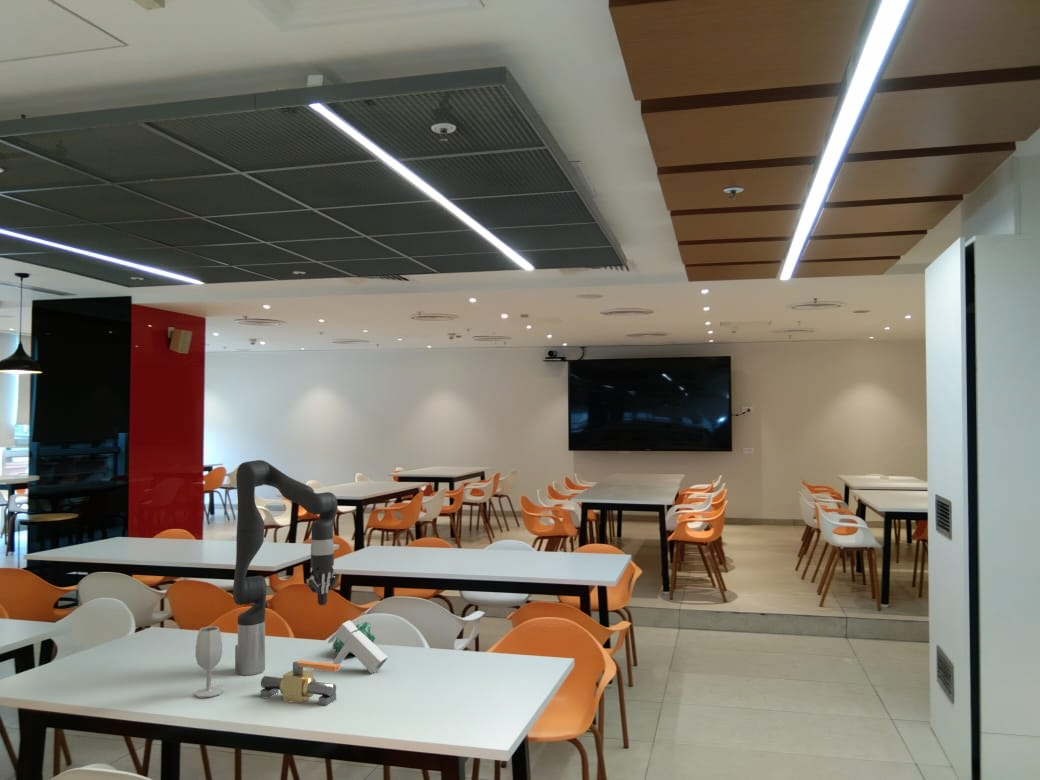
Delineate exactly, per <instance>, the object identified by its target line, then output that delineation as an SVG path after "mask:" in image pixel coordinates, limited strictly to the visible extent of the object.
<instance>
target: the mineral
mask: <svg viewBox="0 0 1040 780" xmlns="http://www.w3.org/2000/svg"><path fill="white" fill-rule="evenodd" d="M371 625H372V624H371V622H368V621H364V622H361V623H359V624H357V625H355V626H356V627H357V628H358V630H357V631H361V632H362V633H363V634H364V635H365V636H366V637H367V638H368V639H369V640H370V641H371V642H373V643H375V642H374V641H375V640H376V637H375V635H374V634H372V633H371V629H372V626H371ZM344 645H345V644H344V643H343V642H342V641H341V640H340V639H339V638H338V637H337V636H336V638H335V639H334V641H333V642H332V649H333V650H335V653H336V654H338V653H339V652H340V650H341V649H342V647H343V646H344ZM350 654H351V655H354V654H353V653H352V652H349V653H348V655H350Z"/></svg>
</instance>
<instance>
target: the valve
mask: <svg viewBox="0 0 1040 780" xmlns="http://www.w3.org/2000/svg"><path fill="white" fill-rule="evenodd" d="M260 687H261V690H260V698H262V697H270V696H272V695H274V694H275V695H277V694H279V691H280V693H281V695H282V701H283V700H286V701H285V702H288V701H292V702H291V703H296V702H299V703H298V704H303V703H305V702H306V701H308V700H310V699H311V698H310V697H312V696H313V697H314V695H318V696H319V695H320V696H319V697H318V705H319V704H321V705H320V706H325V705H327V706H329V705H331V704H332V703H334V702H335V701H334V700H336V701H337V693H336V692H337V685H336V684H335V683H330V682H329V683H328V682H318V681H316V678H315V677H314V671H313V670H305V669H303V673H300V674H294V673H293V669H292V670H290V671H288V672H286V673H284V674H283V675H282V677H276V676H268V675H264V676H263V677H262V678H261V681H260ZM276 693H277V694H276ZM275 695H274V696H275ZM272 697H273V696H272ZM313 697H312V698H313ZM270 698H271V697H270ZM309 698H310V699H309ZM307 699H308V700H307ZM305 700H306V701H305ZM304 701H305V702H304ZM333 701H334V702H333ZM302 702H303V703H302ZM331 702H332V703H331ZM330 703H331V704H330ZM328 704H329V705H328Z"/></svg>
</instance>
